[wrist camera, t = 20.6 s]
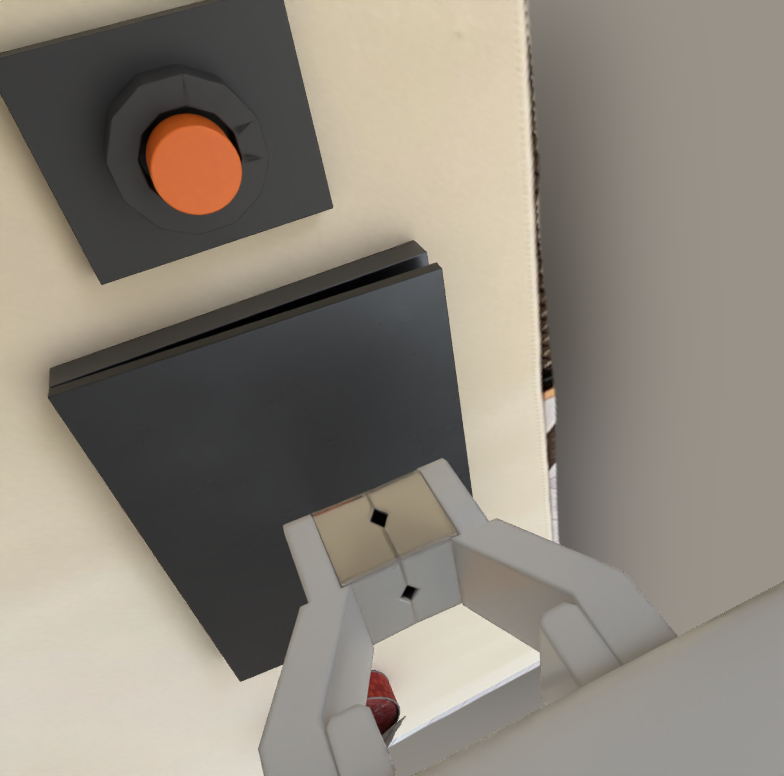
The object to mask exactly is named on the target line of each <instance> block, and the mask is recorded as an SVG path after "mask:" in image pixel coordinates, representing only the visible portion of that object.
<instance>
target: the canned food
mask: <svg viewBox="0 0 784 776" xmlns="http://www.w3.org/2000/svg"><path fill="white" fill-rule="evenodd" d="M366 706H367V707H370V709H371V712H372V714H373V716H374V719H375V721H376V724H377V726H378V728H379V731H380V733H381V736H382V738H383V740H384V743H385V745H386V748H388V746H389V744H390V743H391V741H392V739H393V736H394V734H395V732H396V731H397V729H398V728H399V726H400V725H401V723H402V721H403V720H404V718H405V717H406V716H404V717H403V718H402V719H401V720H400V721H398V719H399V715H400V707H399V705H398V703H397V701H396V698H395V696H394V694H393V691H392V689H391V686H390V684H389V681H388V679H387V677H386V676H385V675H384V674H382V673H380V672H378V671H373V670H371V673H370V680H369V687H368V694H367V701H366ZM397 721H398V722H397Z"/></svg>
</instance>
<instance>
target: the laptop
mask: <svg viewBox="0 0 784 776" xmlns="http://www.w3.org/2000/svg"><path fill="white" fill-rule="evenodd" d="M427 265H429V263H428V256H427V252H426V251H425V250H424V249H423V248H422V247H421V246H420V245H419V244H418V243H417V242H415V241H411V242H408V243H406V244H403V245H400V246H397V247H394V248H391V249H389V250H386V251H383V252H380V253H377V254H374V255H371V256H369V257H366V258H363V259H360V260H357V261H354V262H352V263H349V264H346V265H343V266H340V267H337V268H335V269H332V270H329V271H326V272H323V273H320V274H317V275H315V276H312V277H309V278H306V279H303V280H300V281H298V282H295V283H292V284H289V285H286V286H283V287H281V288H278V289H275V290H272V291H269V292H266V293H263V294H261V295H258V296H255V297H252V298H249V299H246V300H244V301H241V302H238V303H235V304H232V305H229V306H227V307H224V308H221V309H218V310H215V311H212V312H210V313H207V314H204V315H201V316H198V317H195V318H192V319H190V320H187V321H184V322H181V323H178V324H175V325H173V326H170V327H167V328H164V329H161V330H158V331H156V332H153V333H150V334H147V335H144V336H141V337H138V338H136V339H133V340H130V341H127V342H124V343H121V344H119V345H116V346H113V347H110V348H107V349H104V350H102V351H99V352H96V353H93V354H90V355H87V356H85V357H82V358H79V359H76V360H73V361H70V362H67V363H65V364H62V365H59V366H56V367H53V368H51V369H50V381H49V388H53V387H56V386H59V385H62V384H65V383H68V382H71V381H74V380H77V379H81V378H84V377H87V376H90V375H93V374H96V373H99V372H102V371H105V370H108V369H111V368H114V367H117V366H120V365H123V364H127V363H130V362H133V361H136V360H139V359H142V358H145V357H148V356H151V355H154V354H157V353H160V352H163V351H166V350H169V349H173V348H176V347H179V346H182V345H185V344H188V343H191V342H194V341H197V340H200V339H203V338H206V337H209V336H212V335H215V334H219V333H222V332H225V331H228V330H231V329H234V328H237V327H240V326H243V325H246V324H249V323H252V322H255V321H258V320H261V319H265V318H268V317H271V316H274V315H277V314H280V313H283V312H286V311H289V310H292V309H295V308H298V307H301V306H304V305H307V304H311V303H314V302H317V301H320V300H323V299H326V298H329V297H332V296H335V295H338V294H341V293H344V292H347V291H350V290H353V289H357V288H360V287H363V286H366V285H369V284H372V283H375V282H378V281H381V280H384V279H387V278H390V277H393V276H396V275H399V274H403V273H406V272H409V271H412V270H415V269H418V268H421V267H424V266H427Z"/></svg>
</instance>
